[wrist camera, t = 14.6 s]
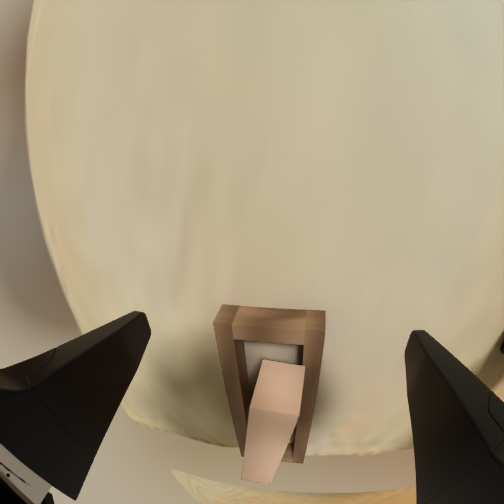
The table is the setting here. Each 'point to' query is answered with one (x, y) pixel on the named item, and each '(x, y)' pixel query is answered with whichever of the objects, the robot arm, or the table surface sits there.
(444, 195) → the table surface
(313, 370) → the frame
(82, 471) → the robot arm
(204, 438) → the table surface
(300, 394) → the clay strip
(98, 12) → the table surface
